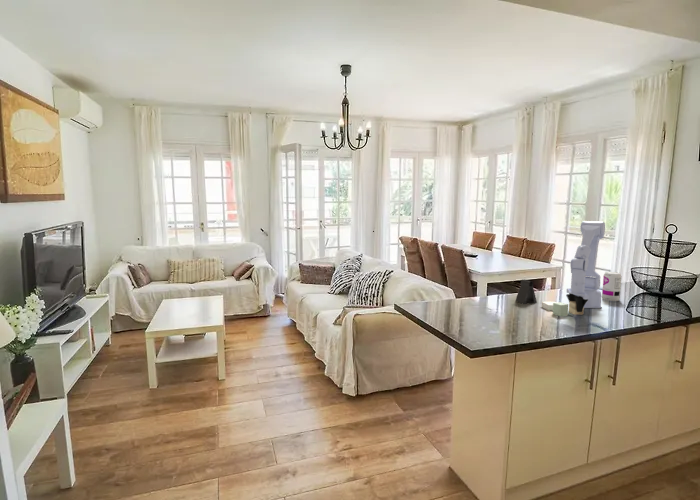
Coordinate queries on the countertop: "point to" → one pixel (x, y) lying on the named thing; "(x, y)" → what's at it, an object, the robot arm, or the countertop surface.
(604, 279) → the supplement can
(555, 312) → the sage block
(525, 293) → the door stopper
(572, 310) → the beech block
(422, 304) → the countertop surface
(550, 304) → the pedestal block
